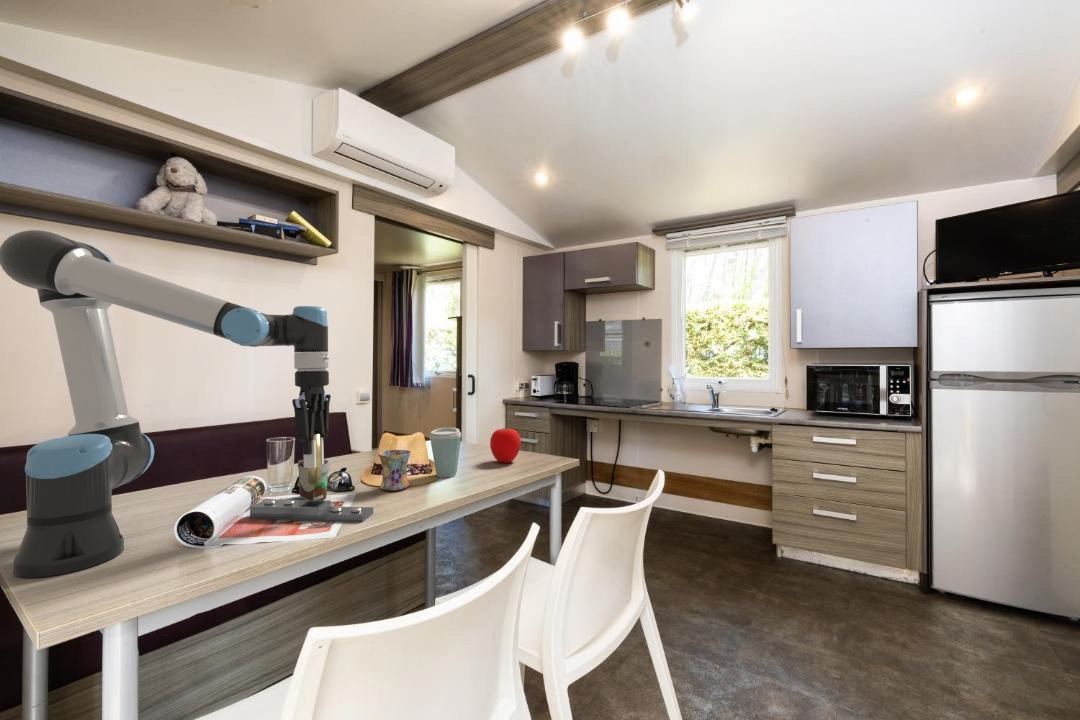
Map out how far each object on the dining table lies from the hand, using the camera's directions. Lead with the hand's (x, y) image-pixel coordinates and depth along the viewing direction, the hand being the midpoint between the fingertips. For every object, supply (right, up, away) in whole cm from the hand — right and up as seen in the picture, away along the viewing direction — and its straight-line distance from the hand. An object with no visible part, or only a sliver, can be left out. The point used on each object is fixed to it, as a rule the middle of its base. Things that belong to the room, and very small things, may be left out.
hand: (313, 465), depth 116 cm
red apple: (+43, -12, +58) cm, 73 cm away
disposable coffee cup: (+24, -12, +40) cm, 48 cm away
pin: (0, -4, 0) cm, 4 cm away
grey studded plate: (0, -13, 0) cm, 13 cm away
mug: (+11, -12, +25) cm, 30 cm away
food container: (-6, -13, +16) cm, 21 cm away
